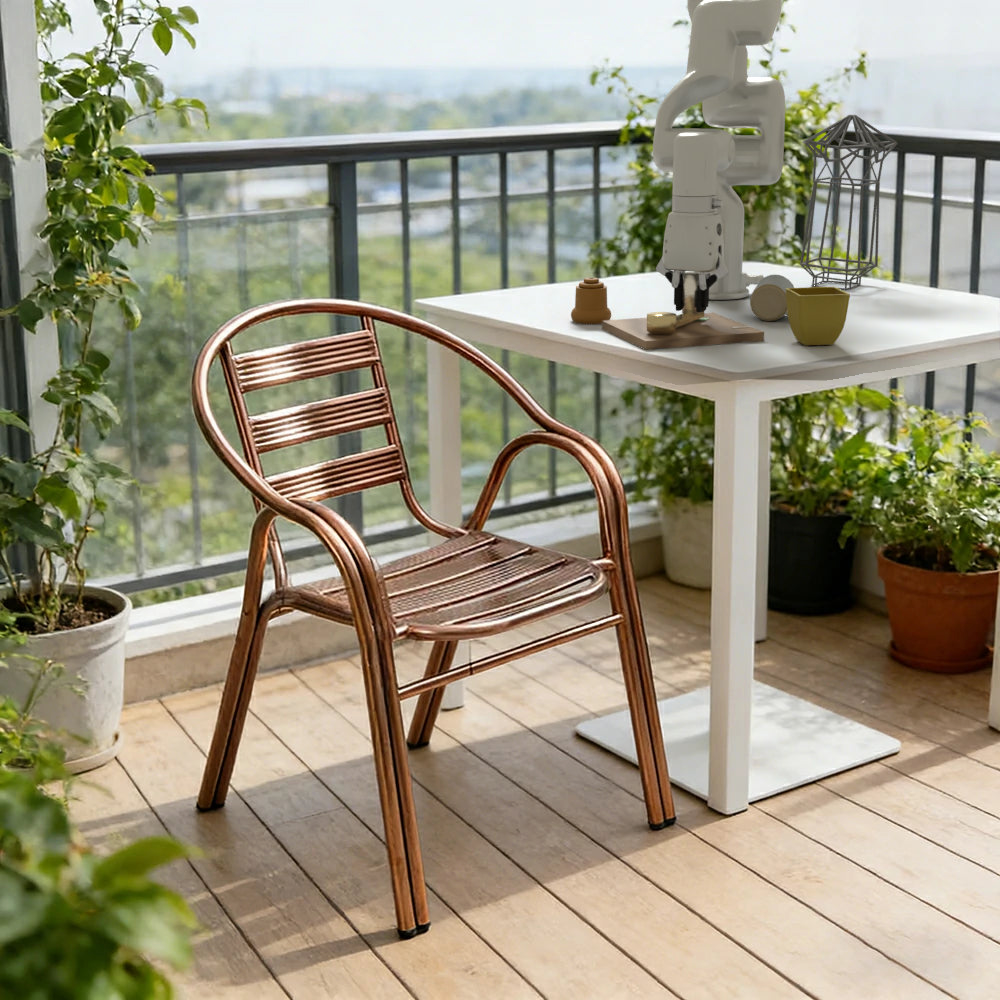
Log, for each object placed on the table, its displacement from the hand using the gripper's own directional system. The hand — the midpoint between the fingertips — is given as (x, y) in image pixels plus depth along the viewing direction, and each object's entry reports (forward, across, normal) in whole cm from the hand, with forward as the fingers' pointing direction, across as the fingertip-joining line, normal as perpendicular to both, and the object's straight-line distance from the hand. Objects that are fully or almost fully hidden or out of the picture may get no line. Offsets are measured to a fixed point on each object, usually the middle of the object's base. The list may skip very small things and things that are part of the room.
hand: (691, 309), depth 252 cm
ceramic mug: (+4, -10, -18) cm, 21 cm away
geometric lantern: (+4, -10, -59) cm, 60 cm away
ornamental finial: (+4, +20, -1) cm, 21 cm away
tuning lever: (+2, 0, +5) cm, 6 cm away
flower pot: (+4, -23, +1) cm, 24 cm away
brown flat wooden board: (+4, 0, +4) cm, 6 cm away
